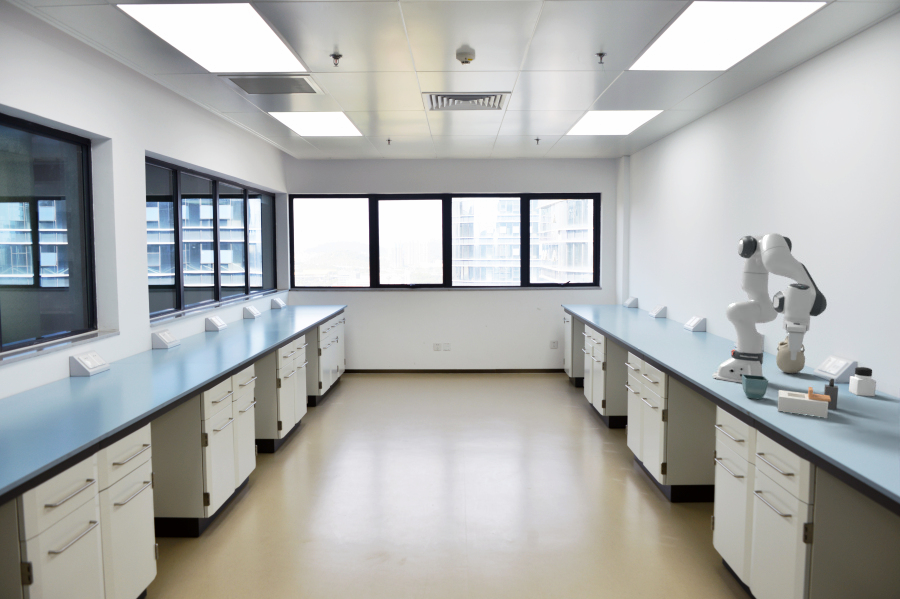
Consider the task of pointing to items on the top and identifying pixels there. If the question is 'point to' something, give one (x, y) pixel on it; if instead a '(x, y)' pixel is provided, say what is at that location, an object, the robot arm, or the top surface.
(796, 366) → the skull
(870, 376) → the medicine bottle
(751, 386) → the flower pot
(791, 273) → the robot arm
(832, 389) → the plug
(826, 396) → the shutter
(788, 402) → the socket
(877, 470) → the top surface
